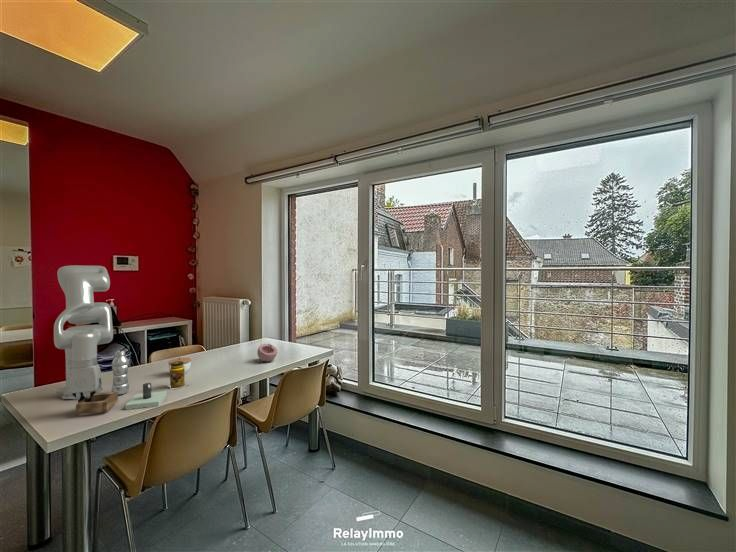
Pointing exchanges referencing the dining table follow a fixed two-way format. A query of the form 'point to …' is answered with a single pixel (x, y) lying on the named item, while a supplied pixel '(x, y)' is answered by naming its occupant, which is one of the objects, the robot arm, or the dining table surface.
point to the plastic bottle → (120, 373)
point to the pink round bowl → (266, 352)
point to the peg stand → (146, 398)
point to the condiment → (177, 375)
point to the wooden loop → (97, 403)
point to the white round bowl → (185, 362)
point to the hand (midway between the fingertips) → (85, 407)
